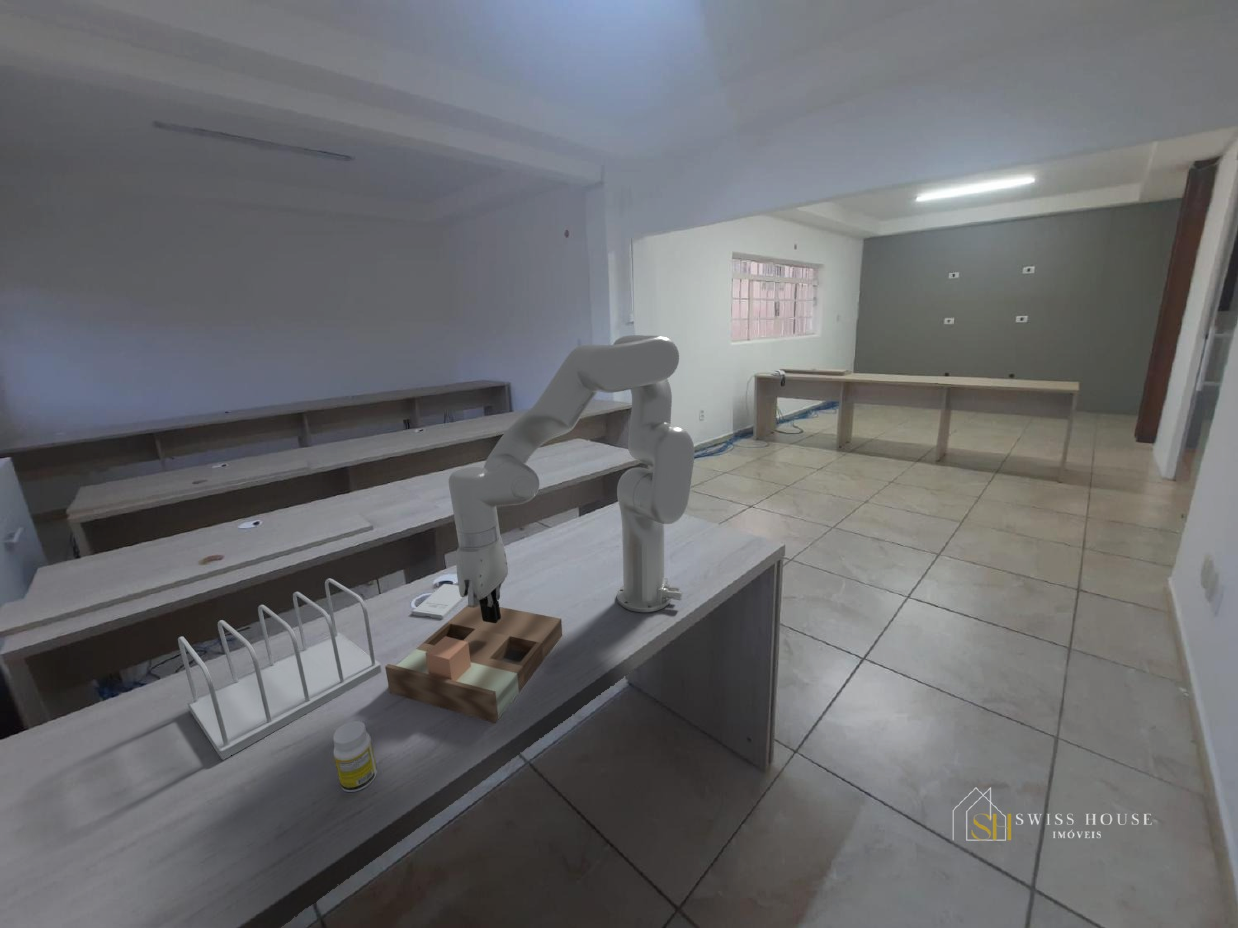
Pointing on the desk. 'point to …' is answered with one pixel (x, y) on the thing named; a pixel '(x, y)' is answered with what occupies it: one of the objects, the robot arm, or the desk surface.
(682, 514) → the robot arm
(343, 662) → the file sorter
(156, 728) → the desk surface
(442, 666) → the block
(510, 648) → the box
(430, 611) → the external hard drive
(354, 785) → the supplement bottle
